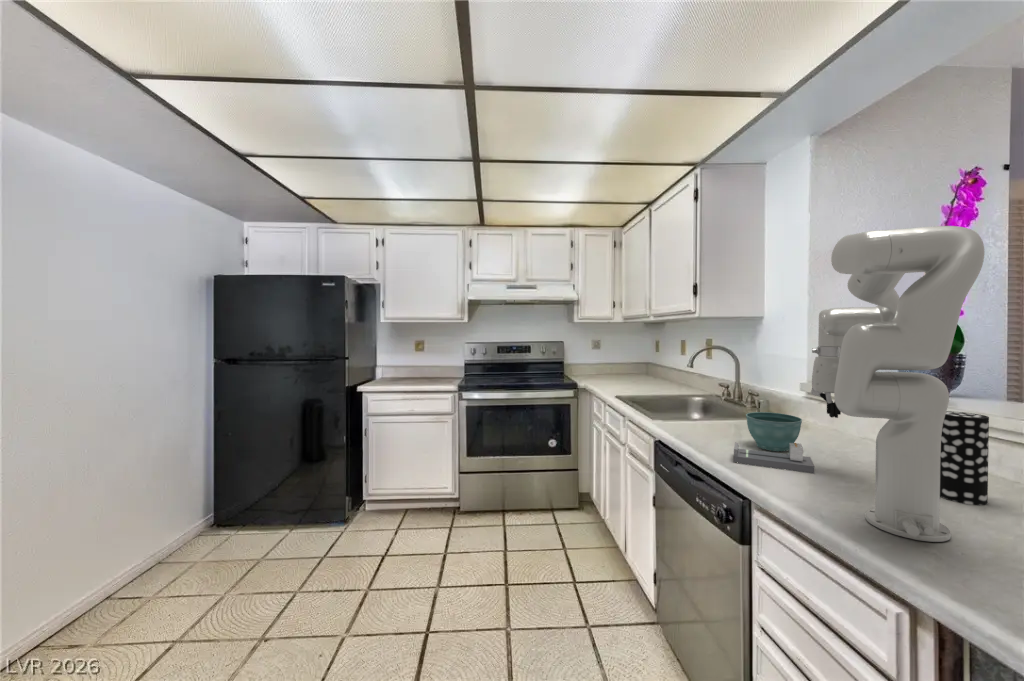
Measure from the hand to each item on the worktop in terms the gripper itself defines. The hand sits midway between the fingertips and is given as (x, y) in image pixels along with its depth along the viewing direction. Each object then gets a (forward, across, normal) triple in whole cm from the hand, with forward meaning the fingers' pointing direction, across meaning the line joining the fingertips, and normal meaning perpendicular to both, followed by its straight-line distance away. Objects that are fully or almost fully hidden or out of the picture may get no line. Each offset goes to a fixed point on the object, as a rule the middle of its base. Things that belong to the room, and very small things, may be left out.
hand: (833, 416), depth 118 cm
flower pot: (+16, -14, +18) cm, 28 cm away
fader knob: (+13, -9, -1) cm, 16 cm away
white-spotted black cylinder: (+15, +23, -10) cm, 30 cm away
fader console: (+16, -15, -1) cm, 22 cm away
